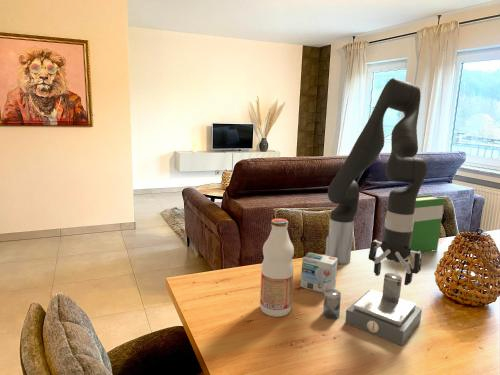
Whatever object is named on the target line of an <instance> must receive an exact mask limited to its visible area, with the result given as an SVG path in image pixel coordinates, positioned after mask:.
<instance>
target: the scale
mask: <svg viewBox="0 0 500 375" xmlns="http://www.w3.org/2000/svg"><path fill="white" fill-rule="evenodd" d="M370 291H371V290H368V291H367V292H365V293H364V294H363V295H362V296H361V297H359V298H358V299H357V300H355V302H354V303H352V304H351V305H350V306H348V308H346V311H345V320H344V321H345V322H344V323H346V324H349V325H351V326H354V327H355V328H358V329H360V330H363V331H365V332H367V333H370V334H373V335H375V336H377V337H379V338H382V339H385V340H387V341H389V342H392V343H394V344H397V345H399V346H403V345H404V343H405V342H406V341H407V340H408V339H409V337H410V336H411V335H412V333H413V332H414V330H415V329H416V327H417V326H418V325H419V323H420V322H421V319H422V312H423V308H422V307H419V306H415V309H414V310H413V311H412V312H411V313H410V315H409V316H408V317H407V318H406V320H405V321H404V322H403V323H402V324H401V326H398V325H395V324H393V323H390V322H387V321H385V320H382V319H380V318H377V317H374V316H372V315H369V314H366V313H364V312H361V311H359V310H356V309H354V304H356V303H357V302H358V301H359V300H360V299H361V298H363V297H364V296H365V295H366V294H367V293H368V292H370Z"/></svg>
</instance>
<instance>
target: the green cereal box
mask: <svg viewBox="0 0 500 375" xmlns="http://www.w3.org/2000/svg"><path fill="white" fill-rule="evenodd" d="M445 199H446V198H445V197H439V198H437V197H434V196H433V194H425V195H424V194H423V195H417V198H416V203H415V210H414V224H413V231H412V239H411V246H410V248H411V251H416V252H418V251H421V252H422V254H424V253H423V252H427V253H429V252H428V251H432V250H437V251H438V249H439V248H438V247H439V240H440V233H441V232H440V231H441V225H442V219H443V213H444V212H443V211H444V204H445ZM432 252H433V251H432Z"/></svg>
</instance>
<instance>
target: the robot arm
mask: <svg viewBox="0 0 500 375" xmlns="http://www.w3.org/2000/svg"><path fill="white" fill-rule="evenodd" d="M421 94H422V93H421V89H420V87H419V86H418V85H416V84H414V83H411V82H408V81H405V80H402V79H399V78H395V77H392V78H390V79H389V80H388V81H387V82H386V83H385V85H384V87H383V89H382V90H381V93H380V95H379V97H378V99H377V101H376V103H375V106H374V108H373V110H372V112H371V114H370V116H369V118H368V120H367V122H366V124H365V126H364V127H363V129H362V130H361V131H360V134H359V135H358V137H357V138H356V141H355V143H354V145H353V146H352V148H351V150H350V152H349V154H348V156H347V158H346V159H345V161H344V163H343V164H342V166H341V167H340V170H338V171H337V173H336V175H335V177H333V179H332V181H331V182H330V184H329V186H328V188H327V197H328V200H329V201H330V202H331V203H333V204H336V205H337V204H338V205H337V206H336V207H335V208H334V209H332V210H331V212H330V218H329V229H328V235H327V236H326V241H325V253H324V255H325V256H330V257H335V258H338V261H337V265H344V264H345V265H346V264H349V263H350V262H351V257H352V255H351V253H352V246H353V244H352V243H353V234H354V222H355V216H356V215H357V212H358V206H359V205H358V204H359V198H360V188H359V187H360V186H359V184H358V183H357V181H356V179H357V177H358V176H359V175H360V174H362V173H363V172H364V171H366V170H367V169H369V168H370V167H371V165H373V163H374V162H375V161H376V160H377V159H378V157H379V155H380V154H381V152H382V150H383V149H384V146H385V134H384V131H385V130H384V117H385V115H386V112H387V110H388V109H392V110H395V111H397V112H399V113H403V115H404V116H403V117H402V119H400V120H399V121H398V122H396V124H395V125H394V127H393V129H392V130H391V150H390V151H391V152H390V155H389V158H388V161H386V162H387V163H386V166H385V170H384V172H385V176H386V177H387V179H388V180H390V181H391V182H394V183H395V182H396V183H409V184H407V186H405V187H404V188H400V189H397V188H396V189H393V190H391V191H390V193H389V194H388V202H387V210H386V214H385V217H384V226H383V236H382V241H379V240H378V239H374V240H372V241H371V243H370V247H369V252H368V260H369V261H372V262H373V263H374V267H373V274H374V275H375V276H376V277H378V276H379V275H381V272H382V271H381V270H382V261H383V260H384V259H385V258H386V259H387V260H388V261H389V260H390V261H393V262H395V263H400V265H401V267H403V268H404V270H405V276H404V277H405V278H404V285H405V286H408V285H410V284H411V283H412V281H413V275H414V274H415V275H416V274H419V273H420V271H422V270H421V269H422V257H423V253H422V252H421V251H418V252H416V251H411V248H410V246H411V239H412V231H413V224H414V210H415V203H416V198H417V196H419V192H420V189H421V187H422V185H423V183H424V181H425V179H426V177H427V175H428V163H427V161H426V160H425V159H424V158H422V157H416V156H417V154H418V151H419V144H418V143H419V142H418V131H417V129H418V128H417V126H418V121H419V120H418V119H419V114H420V113H419V112H420V106H421V98H422V97H421V96H422V95H421ZM379 248H381V251H382V253H381V254H380V255H379V256H377V252H378V251H377V250H378V249H379ZM409 256H411V257H412V259H413V265H412V263H411V262H412V261H411V260H410V258H409Z"/></svg>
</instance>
